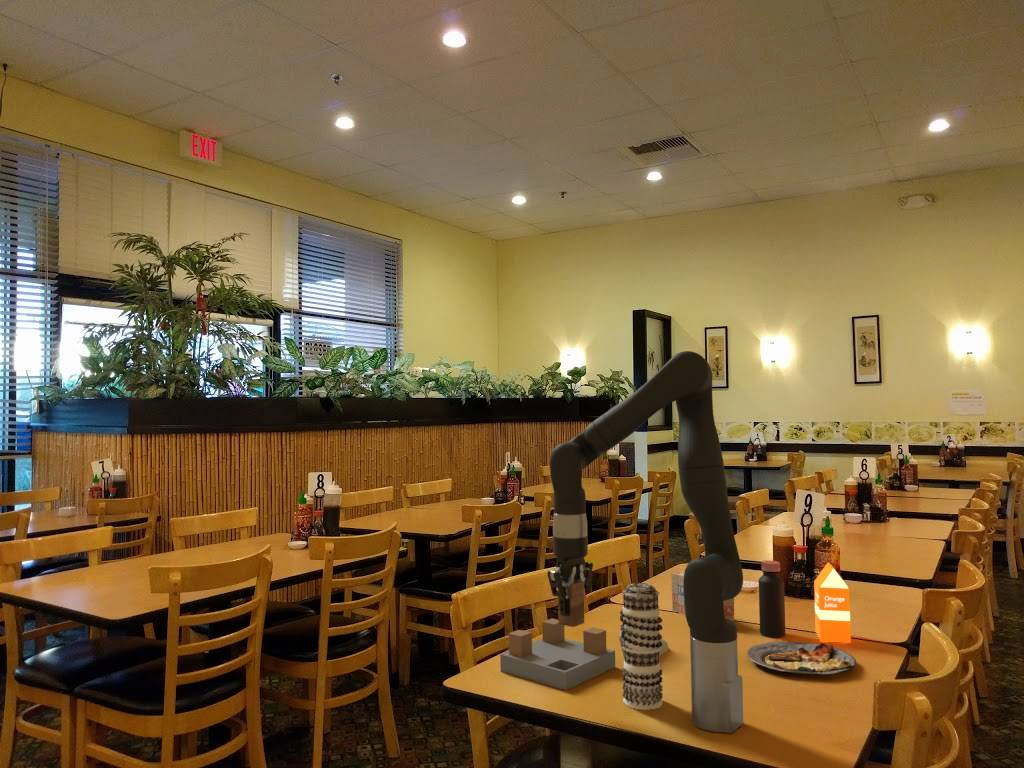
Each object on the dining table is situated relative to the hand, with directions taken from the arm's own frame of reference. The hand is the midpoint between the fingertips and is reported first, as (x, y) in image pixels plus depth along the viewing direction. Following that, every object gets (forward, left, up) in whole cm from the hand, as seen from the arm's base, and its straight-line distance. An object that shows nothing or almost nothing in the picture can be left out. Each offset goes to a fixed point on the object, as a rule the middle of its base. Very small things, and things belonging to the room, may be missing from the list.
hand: (571, 612), depth 163 cm
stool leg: (0, 0, -2) cm, 2 cm away
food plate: (-28, -56, -20) cm, 66 cm away
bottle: (-13, -75, -19) cm, 78 cm away
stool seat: (+16, -15, -19) cm, 29 cm away
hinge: (+5, -37, -20) cm, 42 cm away
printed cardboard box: (+9, -78, -20) cm, 80 cm away
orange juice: (-27, -82, -19) cm, 88 cm away
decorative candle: (-11, -10, -19) cm, 25 cm away
